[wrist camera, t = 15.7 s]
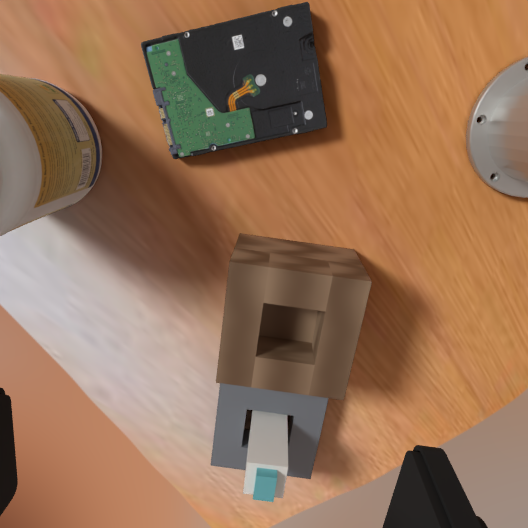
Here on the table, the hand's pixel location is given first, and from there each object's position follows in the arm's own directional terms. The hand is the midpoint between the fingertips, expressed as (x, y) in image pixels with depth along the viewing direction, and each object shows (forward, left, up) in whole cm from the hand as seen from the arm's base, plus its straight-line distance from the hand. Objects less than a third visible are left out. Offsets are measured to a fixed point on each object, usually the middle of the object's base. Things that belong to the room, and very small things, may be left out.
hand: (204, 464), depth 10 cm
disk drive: (+4, -10, -35) cm, 37 cm away
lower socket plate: (-4, +26, -34) cm, 43 cm away
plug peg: (-4, +26, -34) cm, 43 cm away
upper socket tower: (-4, +10, -34) cm, 36 cm away
